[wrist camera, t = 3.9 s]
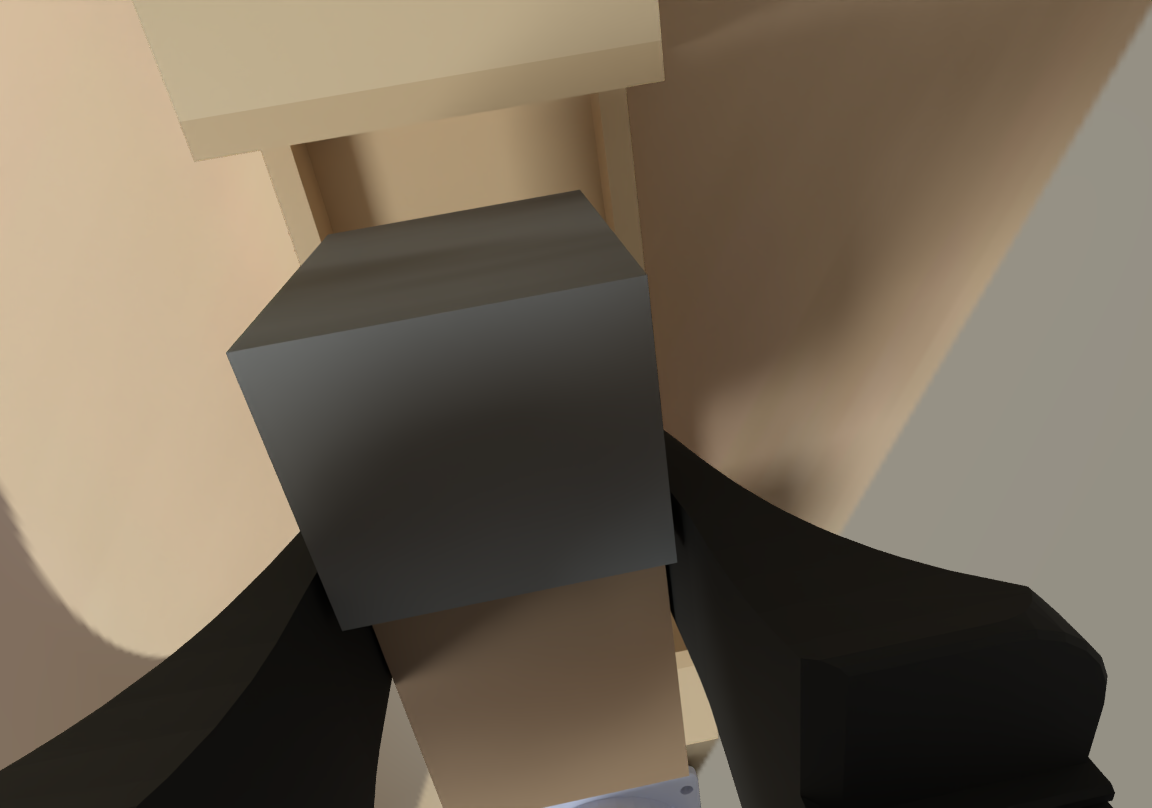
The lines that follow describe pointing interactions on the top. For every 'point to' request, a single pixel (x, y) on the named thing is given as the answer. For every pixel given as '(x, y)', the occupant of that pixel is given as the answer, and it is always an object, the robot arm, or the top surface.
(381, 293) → the box
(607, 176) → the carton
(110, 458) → the top surface
